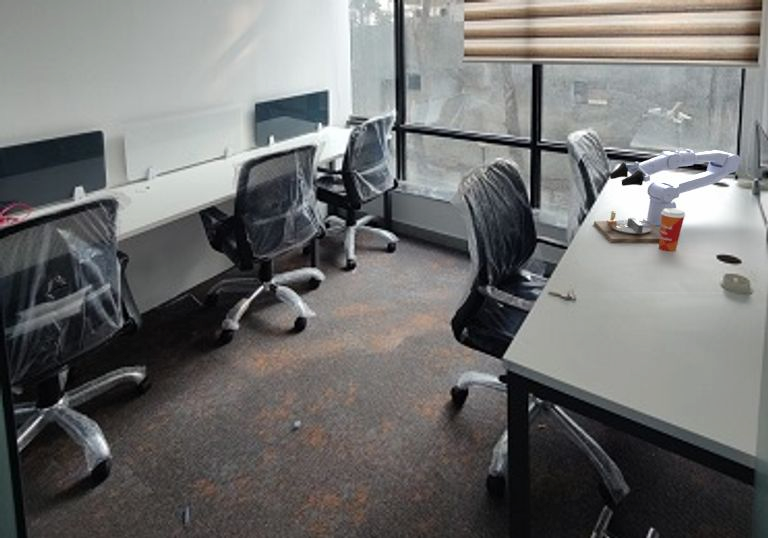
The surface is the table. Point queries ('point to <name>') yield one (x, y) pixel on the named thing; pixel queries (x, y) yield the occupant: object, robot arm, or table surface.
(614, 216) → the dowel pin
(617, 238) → the base board
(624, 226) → the flange plate
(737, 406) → the table surface
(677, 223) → the paper cup
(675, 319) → the table surface
